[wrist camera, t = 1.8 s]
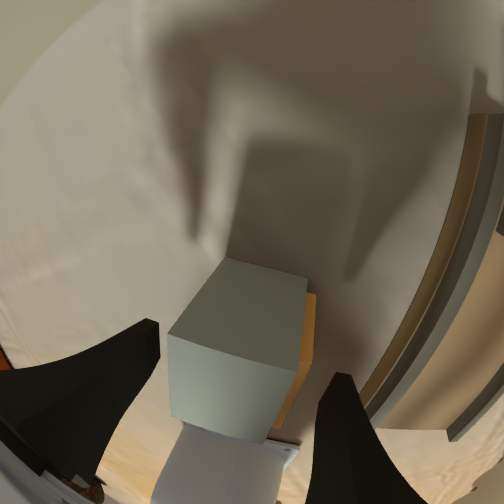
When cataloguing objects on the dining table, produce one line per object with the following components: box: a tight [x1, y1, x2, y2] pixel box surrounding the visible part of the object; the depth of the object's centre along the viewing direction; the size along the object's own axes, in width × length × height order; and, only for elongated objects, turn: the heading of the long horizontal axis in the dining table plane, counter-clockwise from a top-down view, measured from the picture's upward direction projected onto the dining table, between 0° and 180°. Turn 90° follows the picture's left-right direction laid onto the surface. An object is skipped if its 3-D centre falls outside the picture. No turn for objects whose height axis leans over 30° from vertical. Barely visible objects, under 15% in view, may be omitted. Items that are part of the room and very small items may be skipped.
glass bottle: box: [61, 478, 104, 504], centre depth 40 cm, size 18×18×28 cm
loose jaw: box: [167, 257, 316, 445], centre depth 12 cm, size 5×4×6 cm
